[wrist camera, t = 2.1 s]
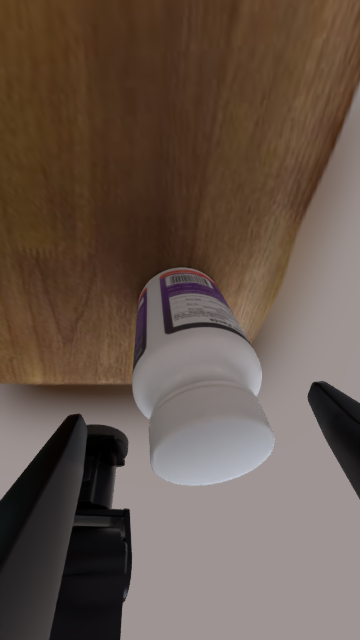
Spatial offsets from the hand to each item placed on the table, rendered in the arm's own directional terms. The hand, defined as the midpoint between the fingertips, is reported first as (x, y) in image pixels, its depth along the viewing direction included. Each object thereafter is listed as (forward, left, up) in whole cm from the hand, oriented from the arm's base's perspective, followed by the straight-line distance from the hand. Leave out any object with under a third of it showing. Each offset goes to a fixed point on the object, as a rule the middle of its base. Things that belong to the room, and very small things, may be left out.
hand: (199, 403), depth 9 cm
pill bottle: (0, 0, -8) cm, 8 cm away
